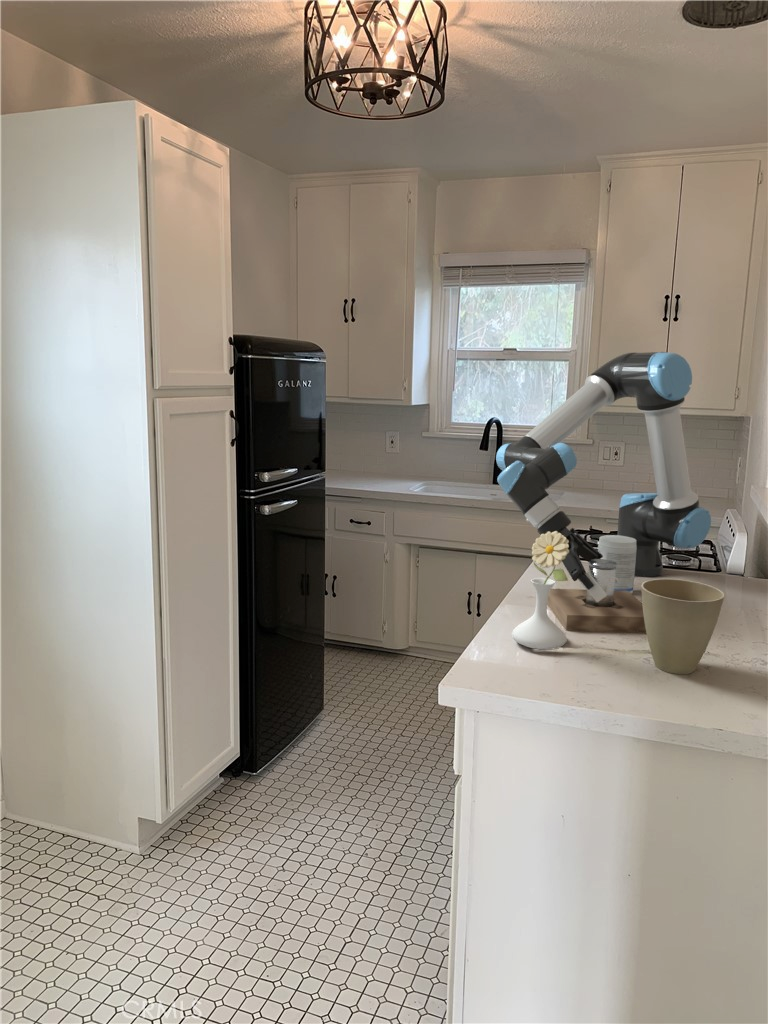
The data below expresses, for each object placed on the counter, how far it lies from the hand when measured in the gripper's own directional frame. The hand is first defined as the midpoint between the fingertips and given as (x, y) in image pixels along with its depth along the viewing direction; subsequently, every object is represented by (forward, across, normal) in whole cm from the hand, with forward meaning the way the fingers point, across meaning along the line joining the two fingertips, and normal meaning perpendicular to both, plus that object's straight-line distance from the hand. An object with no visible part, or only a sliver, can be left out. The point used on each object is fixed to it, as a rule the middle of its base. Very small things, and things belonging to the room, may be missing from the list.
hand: (608, 591), depth 169 cm
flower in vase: (-1, +23, -12) cm, 26 cm away
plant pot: (+18, +20, +7) cm, 28 cm away
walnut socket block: (+4, 0, -6) cm, 8 cm away
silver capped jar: (+3, 0, -6) cm, 7 cm away
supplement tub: (+3, -26, -8) cm, 27 cm away
